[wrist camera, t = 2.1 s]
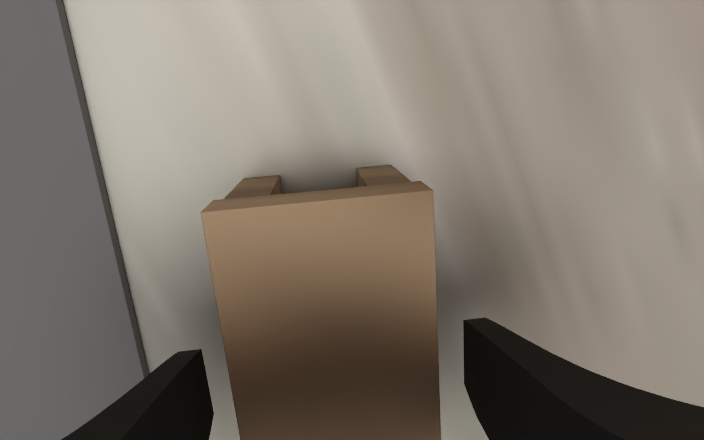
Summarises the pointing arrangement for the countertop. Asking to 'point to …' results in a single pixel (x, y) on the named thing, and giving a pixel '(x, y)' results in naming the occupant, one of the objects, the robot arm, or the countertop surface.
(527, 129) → the countertop surface
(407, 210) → the stool
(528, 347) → the robot arm
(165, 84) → the countertop surface
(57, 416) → the mat
